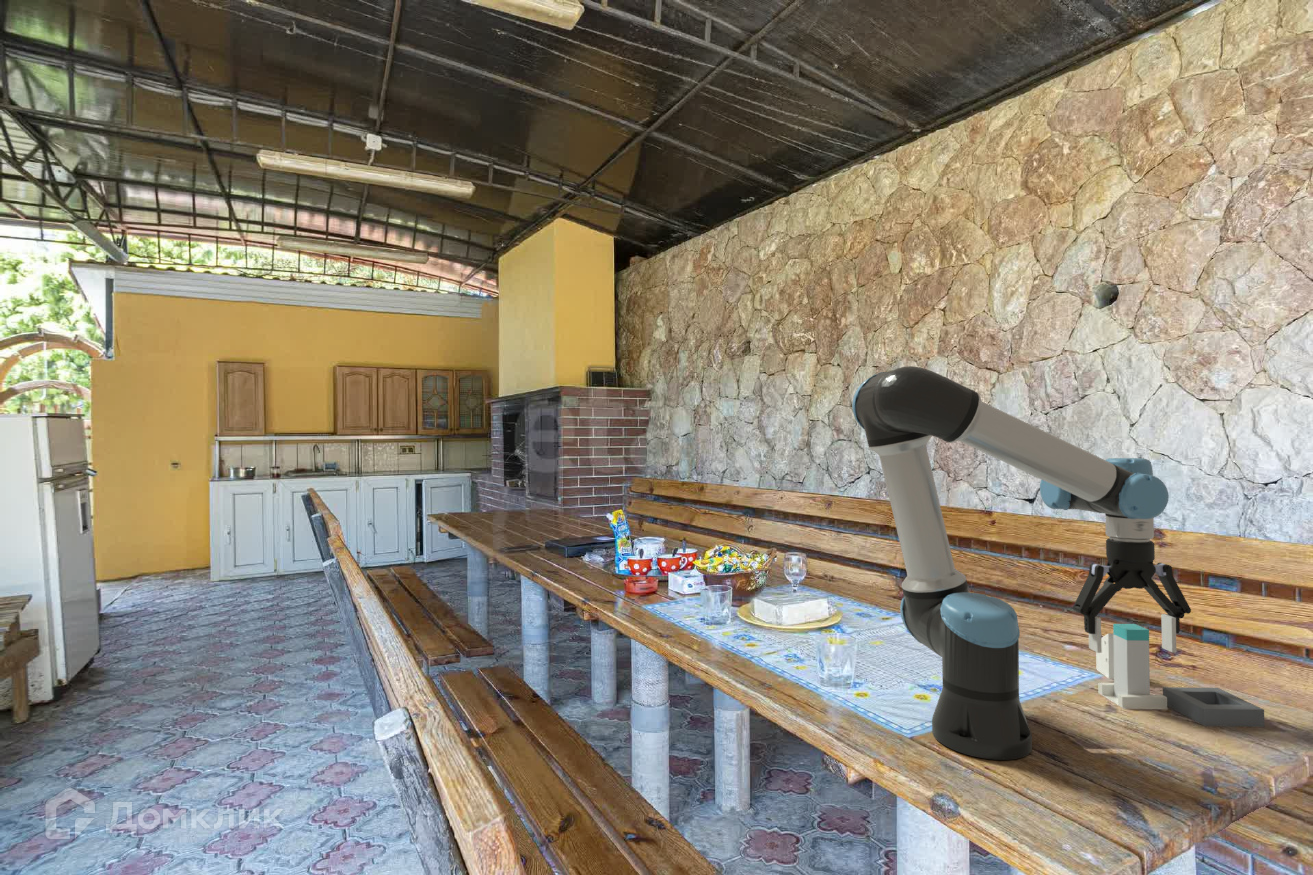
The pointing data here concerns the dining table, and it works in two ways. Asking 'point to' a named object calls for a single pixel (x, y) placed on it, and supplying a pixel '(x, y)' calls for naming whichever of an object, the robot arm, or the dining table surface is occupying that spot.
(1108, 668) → the white l-shaped bracket
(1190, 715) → the block
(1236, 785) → the dining table surface
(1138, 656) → the plug
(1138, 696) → the white low u-shaped block
